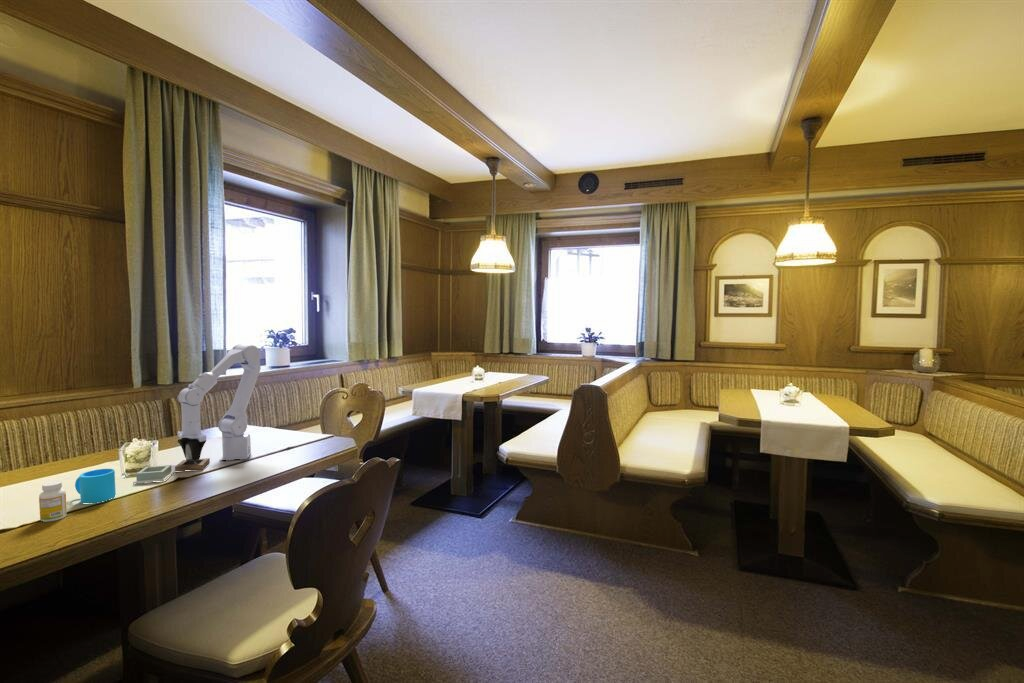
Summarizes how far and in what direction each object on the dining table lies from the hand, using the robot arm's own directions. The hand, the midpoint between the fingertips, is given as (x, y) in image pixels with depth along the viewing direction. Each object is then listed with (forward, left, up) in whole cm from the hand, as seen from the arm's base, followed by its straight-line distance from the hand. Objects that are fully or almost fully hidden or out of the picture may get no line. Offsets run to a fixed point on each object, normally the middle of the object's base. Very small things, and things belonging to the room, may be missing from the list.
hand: (192, 458), depth 181 cm
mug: (+19, +26, -4) cm, 32 cm away
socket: (0, 0, -3) cm, 3 cm away
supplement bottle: (+22, +40, -4) cm, 46 cm away
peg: (0, 0, -3) cm, 3 cm away
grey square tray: (+8, +10, -3) cm, 14 cm away
